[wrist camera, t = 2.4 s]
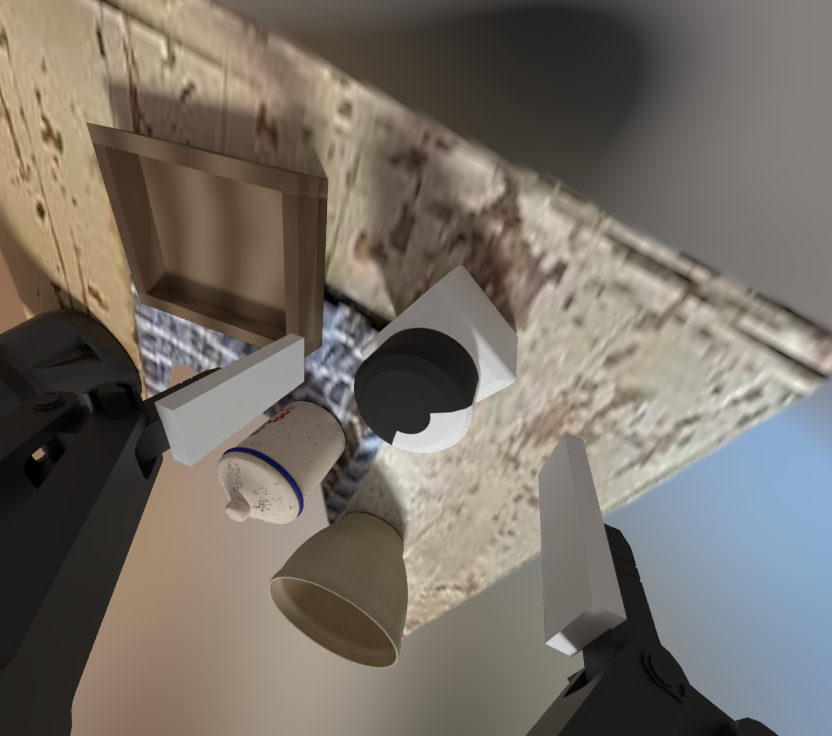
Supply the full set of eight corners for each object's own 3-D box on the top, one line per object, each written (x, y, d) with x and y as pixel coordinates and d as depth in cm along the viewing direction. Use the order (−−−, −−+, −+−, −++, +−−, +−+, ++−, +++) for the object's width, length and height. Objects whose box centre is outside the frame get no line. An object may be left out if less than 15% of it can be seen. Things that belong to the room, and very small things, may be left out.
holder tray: (175, 294, 32) (140, 302, 29) (138, 133, 25) (86, 122, 22) (321, 346, 29) (298, 361, 26) (328, 179, 22) (297, 174, 19)
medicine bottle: (396, 319, 25) (311, 391, 15) (461, 261, 21) (407, 306, 11) (449, 380, 26) (402, 487, 16) (519, 337, 22) (517, 438, 12)
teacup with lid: (292, 382, 32) (192, 456, 23) (360, 429, 32) (289, 523, 23) (269, 443, 39) (184, 521, 29) (326, 482, 39) (260, 573, 29)
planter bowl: (369, 477, 36) (317, 569, 26) (451, 562, 38) (429, 672, 29) (302, 509, 44) (244, 587, 35) (373, 577, 47) (337, 666, 37)
